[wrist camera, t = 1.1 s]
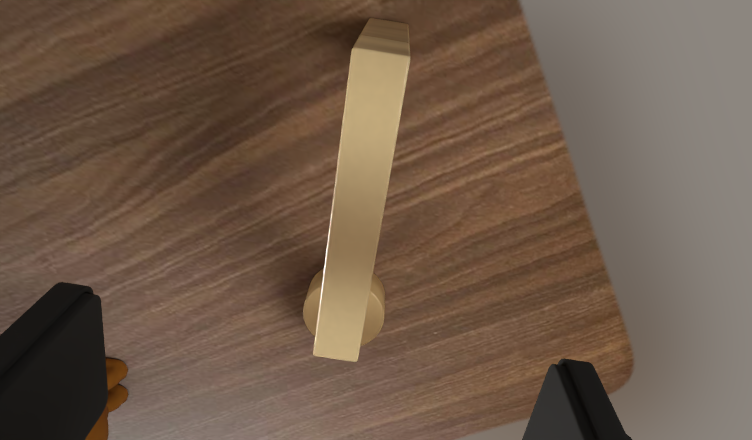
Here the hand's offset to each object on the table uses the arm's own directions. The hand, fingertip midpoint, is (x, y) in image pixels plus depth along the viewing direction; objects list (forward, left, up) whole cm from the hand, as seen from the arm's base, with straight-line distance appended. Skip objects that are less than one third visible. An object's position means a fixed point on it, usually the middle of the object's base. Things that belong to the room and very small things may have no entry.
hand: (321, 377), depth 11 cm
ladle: (+4, 0, -17) cm, 18 cm away
